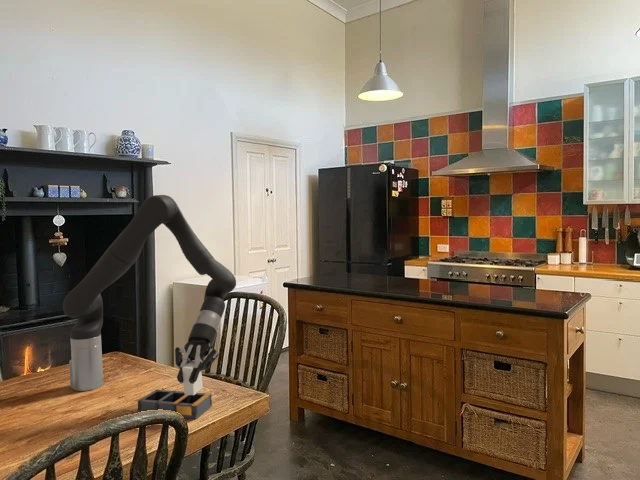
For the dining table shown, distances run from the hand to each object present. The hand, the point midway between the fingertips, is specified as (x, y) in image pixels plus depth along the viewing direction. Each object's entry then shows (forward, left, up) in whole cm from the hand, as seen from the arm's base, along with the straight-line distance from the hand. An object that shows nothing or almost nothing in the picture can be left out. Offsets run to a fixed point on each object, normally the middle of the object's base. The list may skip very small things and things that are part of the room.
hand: (185, 381), depth 131 cm
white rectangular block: (0, +4, -4) cm, 6 cm away
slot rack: (-6, +3, -10) cm, 12 cm away
